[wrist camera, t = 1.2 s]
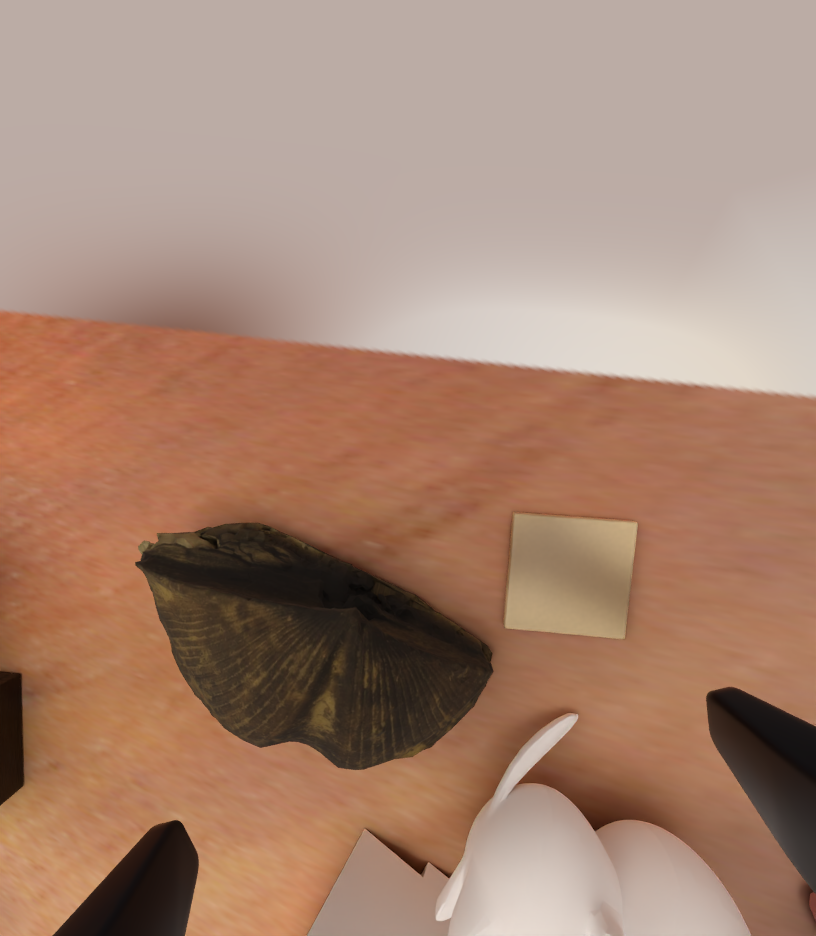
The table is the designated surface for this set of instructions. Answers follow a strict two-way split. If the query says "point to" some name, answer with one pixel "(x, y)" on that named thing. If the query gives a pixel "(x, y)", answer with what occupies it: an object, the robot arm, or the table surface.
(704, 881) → the cat figurine
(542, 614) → the coaster
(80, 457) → the table surface
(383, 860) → the bracket
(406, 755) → the seashell
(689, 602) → the table surface
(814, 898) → the yellow mantel clock
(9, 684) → the black open box
